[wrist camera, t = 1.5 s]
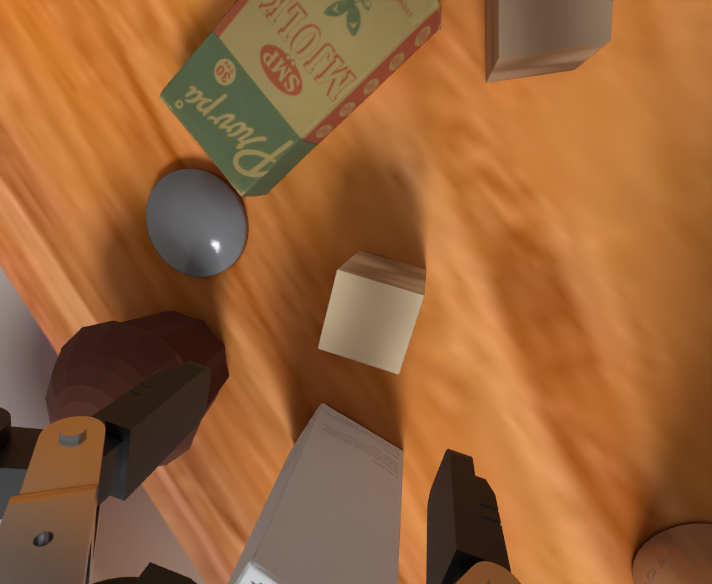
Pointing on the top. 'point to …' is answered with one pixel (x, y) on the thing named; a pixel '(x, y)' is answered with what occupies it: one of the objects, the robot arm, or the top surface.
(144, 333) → the muffin
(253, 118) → the carton
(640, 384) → the top surface
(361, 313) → the oak block
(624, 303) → the top surface
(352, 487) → the skincare box
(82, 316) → the top surface
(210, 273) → the grey disc
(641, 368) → the top surface
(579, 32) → the walnut block
